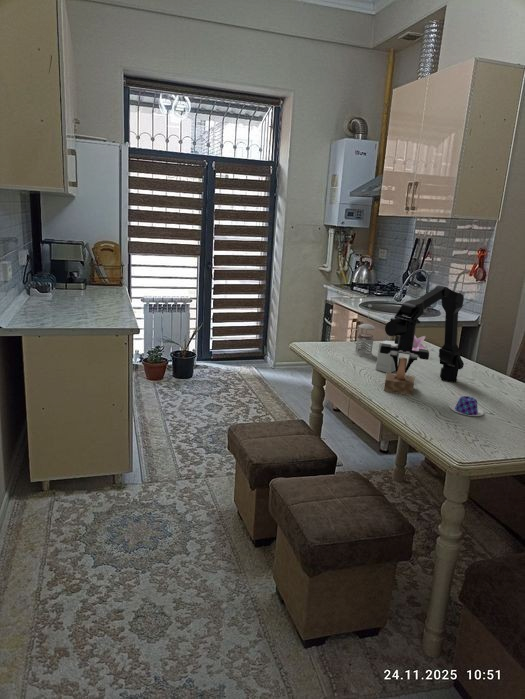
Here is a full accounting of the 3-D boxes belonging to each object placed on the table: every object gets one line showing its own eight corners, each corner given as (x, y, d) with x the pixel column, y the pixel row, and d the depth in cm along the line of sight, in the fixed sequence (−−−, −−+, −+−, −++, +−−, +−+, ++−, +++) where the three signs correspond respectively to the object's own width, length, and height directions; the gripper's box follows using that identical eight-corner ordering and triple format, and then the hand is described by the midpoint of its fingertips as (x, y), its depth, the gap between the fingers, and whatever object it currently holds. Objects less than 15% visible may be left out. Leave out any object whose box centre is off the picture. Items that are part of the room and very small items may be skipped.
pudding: (452, 403, 207) (454, 390, 205) (485, 411, 201) (488, 398, 200) (446, 412, 197) (448, 398, 195) (480, 420, 191) (483, 407, 190)
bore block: (412, 387, 221) (413, 376, 220) (412, 395, 210) (414, 384, 209) (385, 382, 223) (386, 372, 222) (383, 390, 213) (385, 380, 212)
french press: (373, 358, 260) (380, 307, 253) (349, 354, 262) (355, 304, 255) (373, 353, 269) (380, 303, 262) (350, 349, 271) (356, 301, 264)
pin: (403, 379, 217) (407, 358, 215) (403, 381, 214) (407, 360, 212) (395, 378, 218) (399, 357, 215) (395, 380, 215) (399, 359, 212)
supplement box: (390, 373, 237) (394, 346, 233) (374, 369, 241) (378, 342, 238) (397, 370, 242) (401, 343, 239) (381, 366, 247) (386, 339, 243)
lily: (399, 351, 281) (398, 337, 275) (420, 343, 282) (419, 329, 276) (410, 364, 272) (409, 350, 266) (432, 356, 272) (431, 342, 267)
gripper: (431, 333, 216) (424, 370, 220) (384, 327, 221) (378, 363, 225) (431, 339, 206) (425, 377, 210) (382, 332, 210) (377, 370, 214)
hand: (401, 372), depth 215 cm, fingers closed on pin, 3 cm apart
